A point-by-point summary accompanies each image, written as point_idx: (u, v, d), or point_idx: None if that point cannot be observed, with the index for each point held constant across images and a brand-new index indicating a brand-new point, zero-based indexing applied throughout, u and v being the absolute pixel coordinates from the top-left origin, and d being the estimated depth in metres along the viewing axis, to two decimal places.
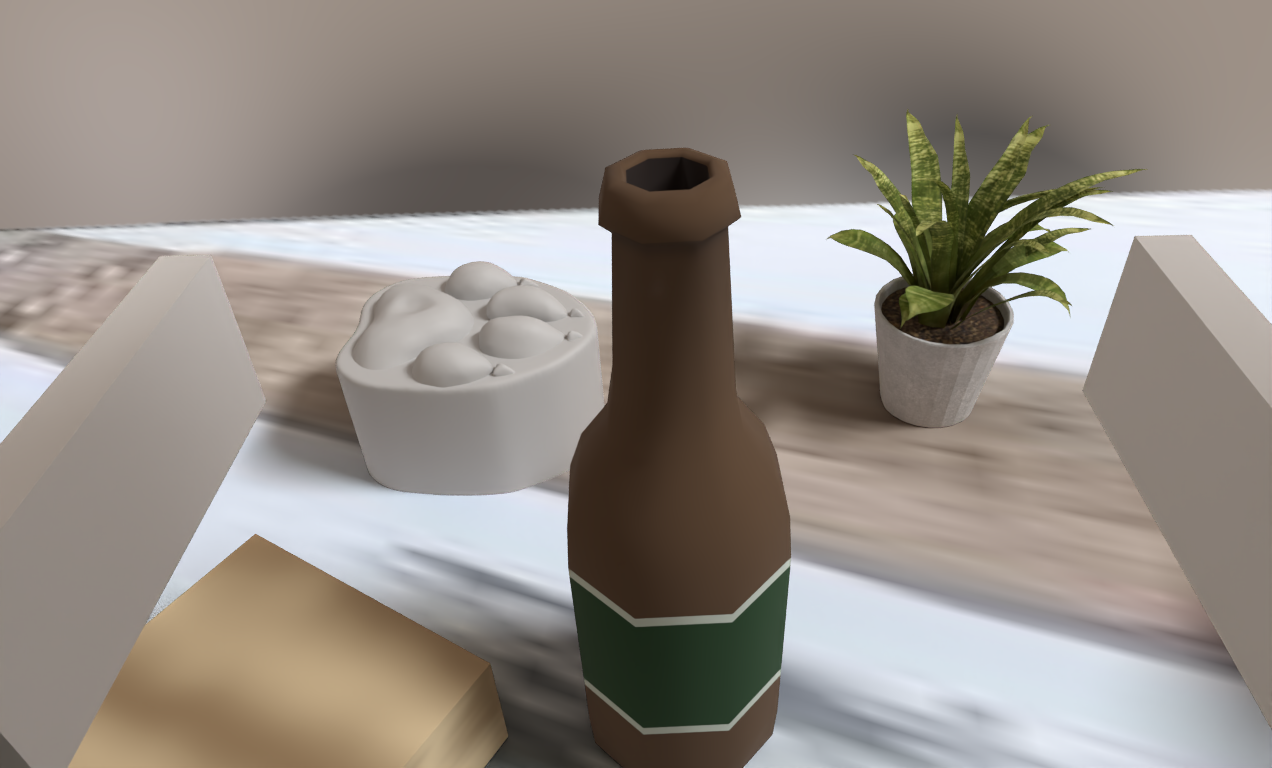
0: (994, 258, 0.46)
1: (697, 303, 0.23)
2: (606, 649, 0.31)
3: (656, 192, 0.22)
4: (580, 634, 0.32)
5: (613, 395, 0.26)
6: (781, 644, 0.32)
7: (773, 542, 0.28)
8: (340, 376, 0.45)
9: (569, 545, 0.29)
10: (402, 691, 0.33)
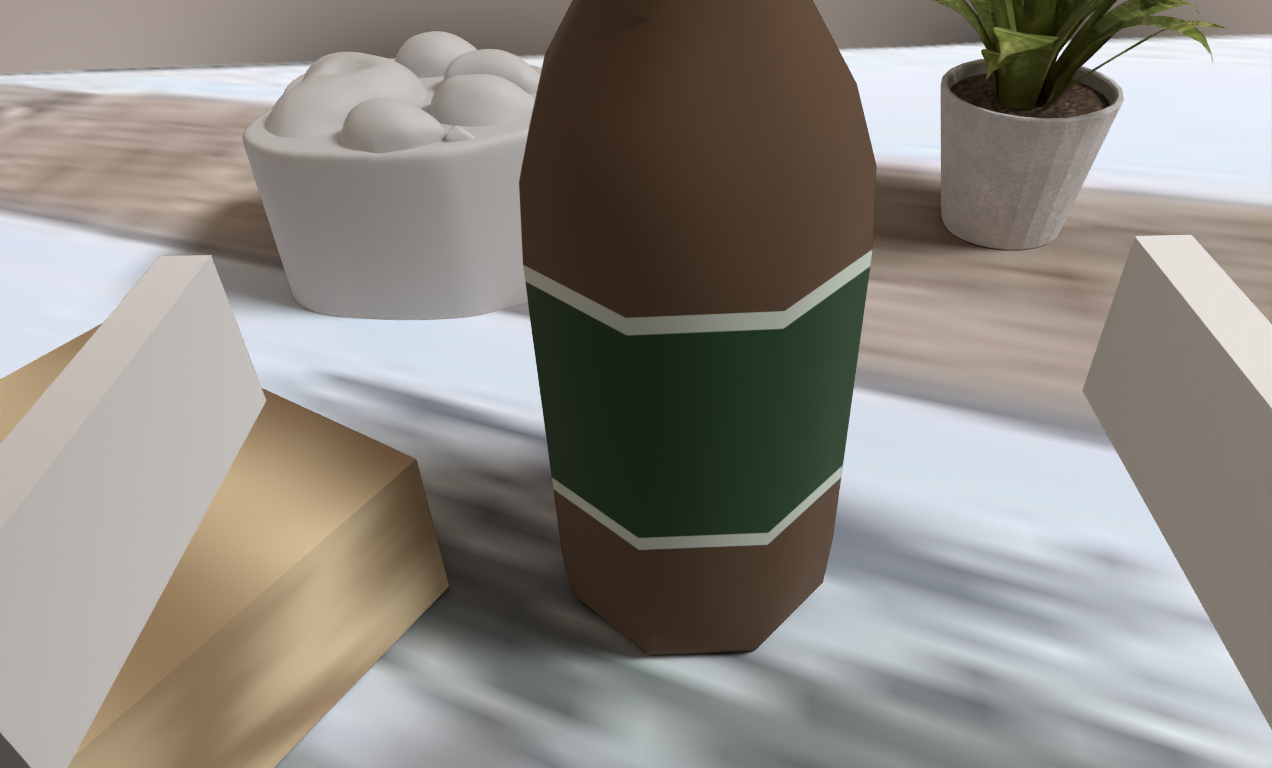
0: (1104, 6, 0.35)
1: None
2: (582, 406, 0.20)
3: None
4: (544, 394, 0.21)
5: None
6: (846, 419, 0.22)
7: (850, 202, 0.17)
8: (247, 147, 0.34)
9: (523, 216, 0.18)
10: (284, 492, 0.22)
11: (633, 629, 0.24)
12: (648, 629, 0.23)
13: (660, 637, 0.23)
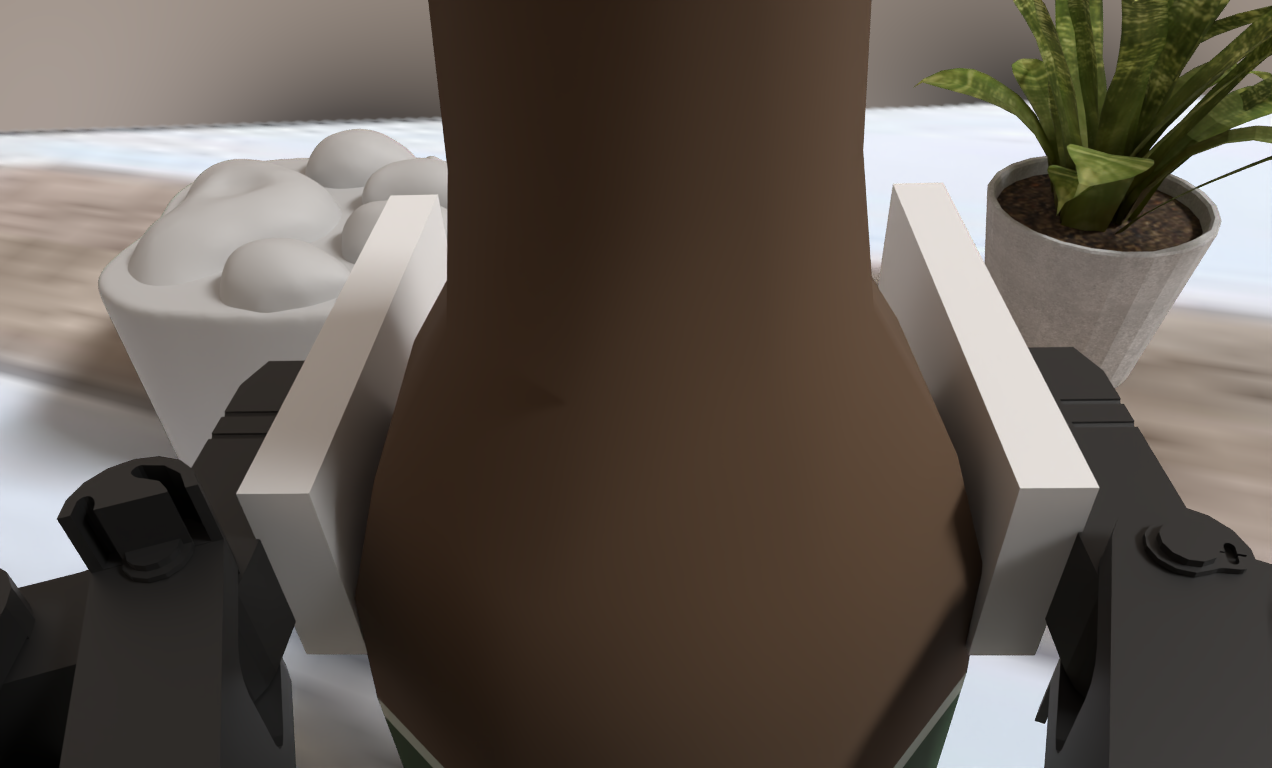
0: (1200, 109, 0.28)
1: None
2: None
3: None
4: None
5: (450, 170, 0.08)
6: None
7: (941, 644, 0.10)
8: (102, 297, 0.27)
9: (368, 642, 0.10)
10: None
11: None
12: None
13: None
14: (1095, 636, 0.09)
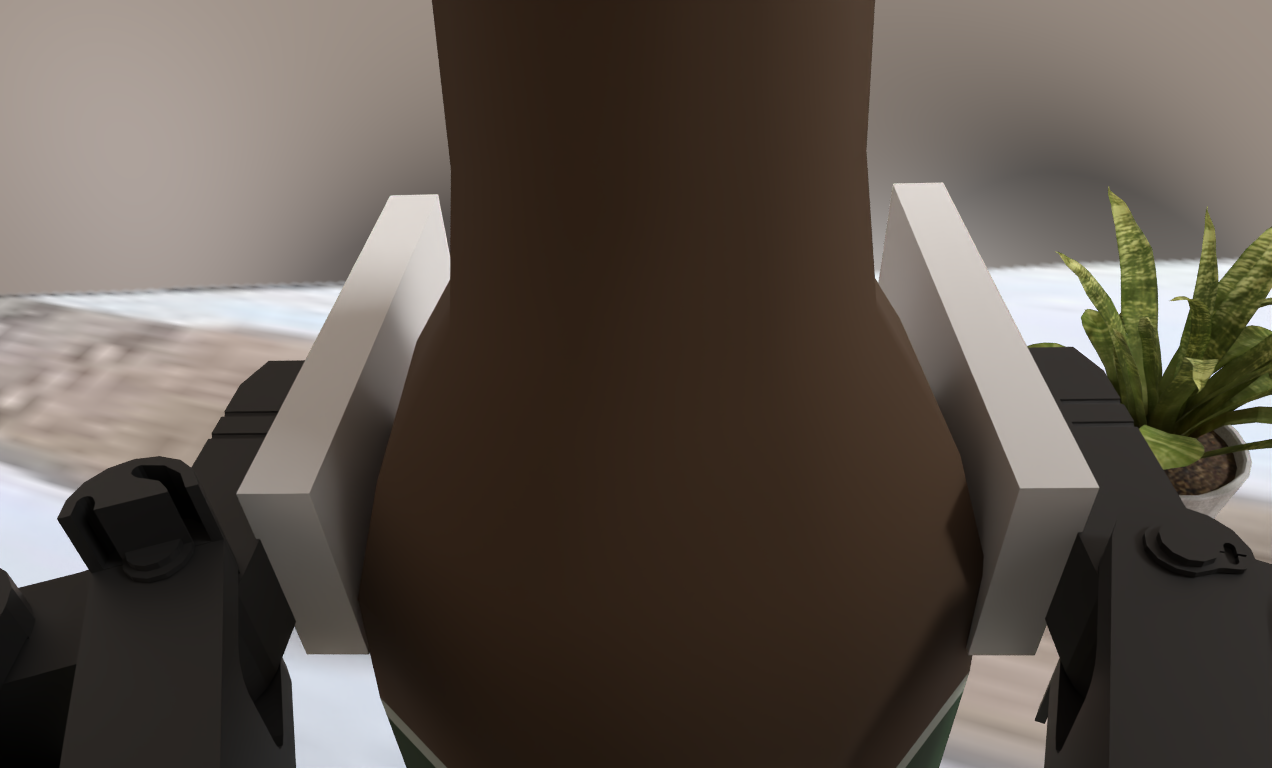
0: None
1: None
2: None
3: None
4: None
5: (453, 170, 0.08)
6: None
7: (943, 645, 0.10)
8: None
9: (370, 642, 0.10)
10: None
11: None
12: None
13: None
14: (1095, 636, 0.09)
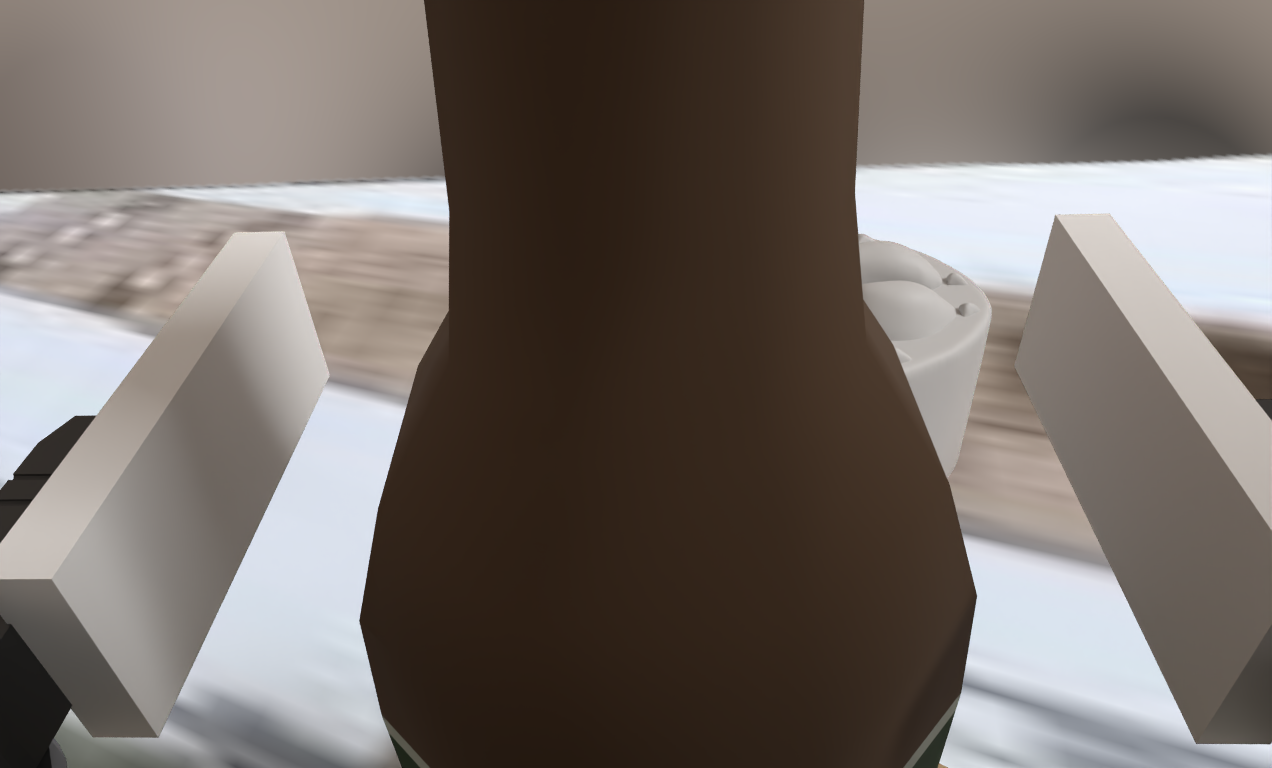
0: None
1: None
2: None
3: None
4: None
5: (451, 211, 0.08)
6: None
7: (933, 668, 0.10)
8: None
9: (372, 663, 0.11)
10: None
11: None
12: None
13: None
14: None
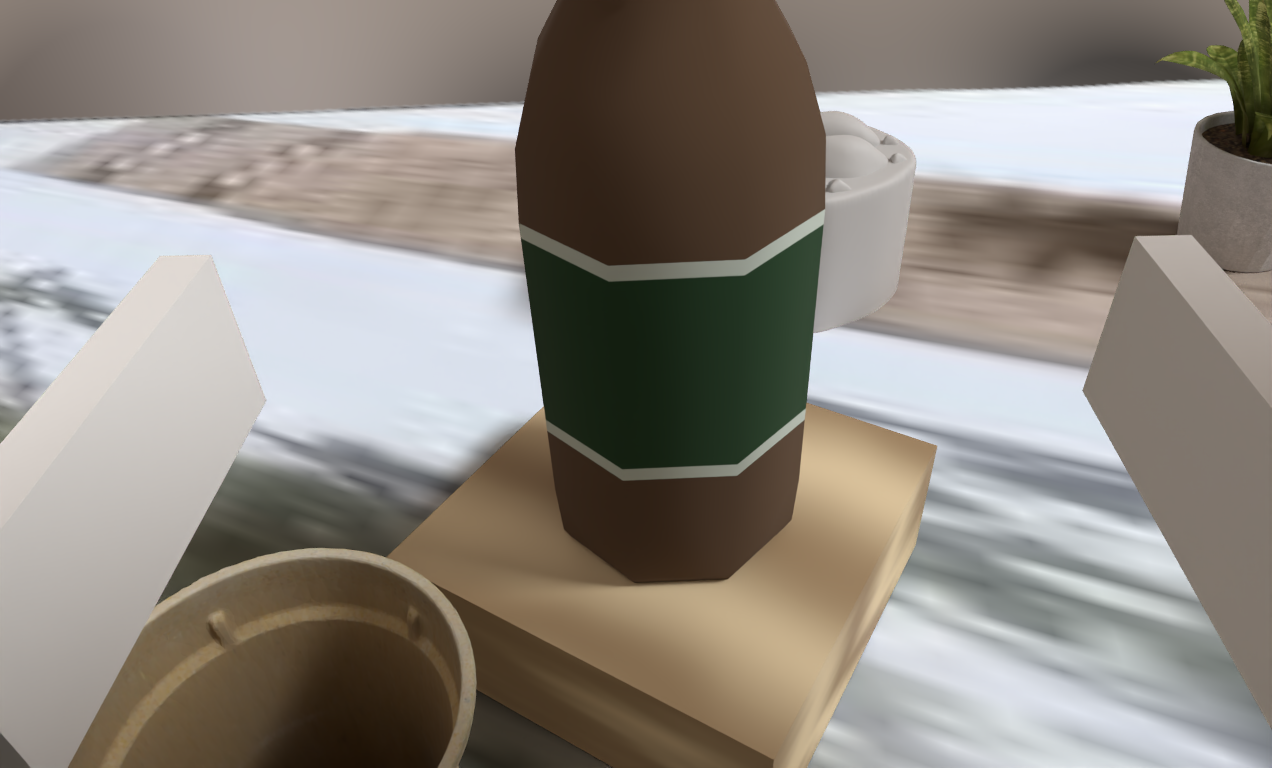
0: None
1: None
2: (571, 350, 0.23)
3: None
4: (538, 341, 0.24)
5: None
6: (807, 365, 0.24)
7: (802, 166, 0.20)
8: None
9: (518, 179, 0.21)
10: (852, 471, 0.30)
11: (619, 559, 0.26)
12: (632, 556, 0.26)
13: (643, 565, 0.26)
14: None
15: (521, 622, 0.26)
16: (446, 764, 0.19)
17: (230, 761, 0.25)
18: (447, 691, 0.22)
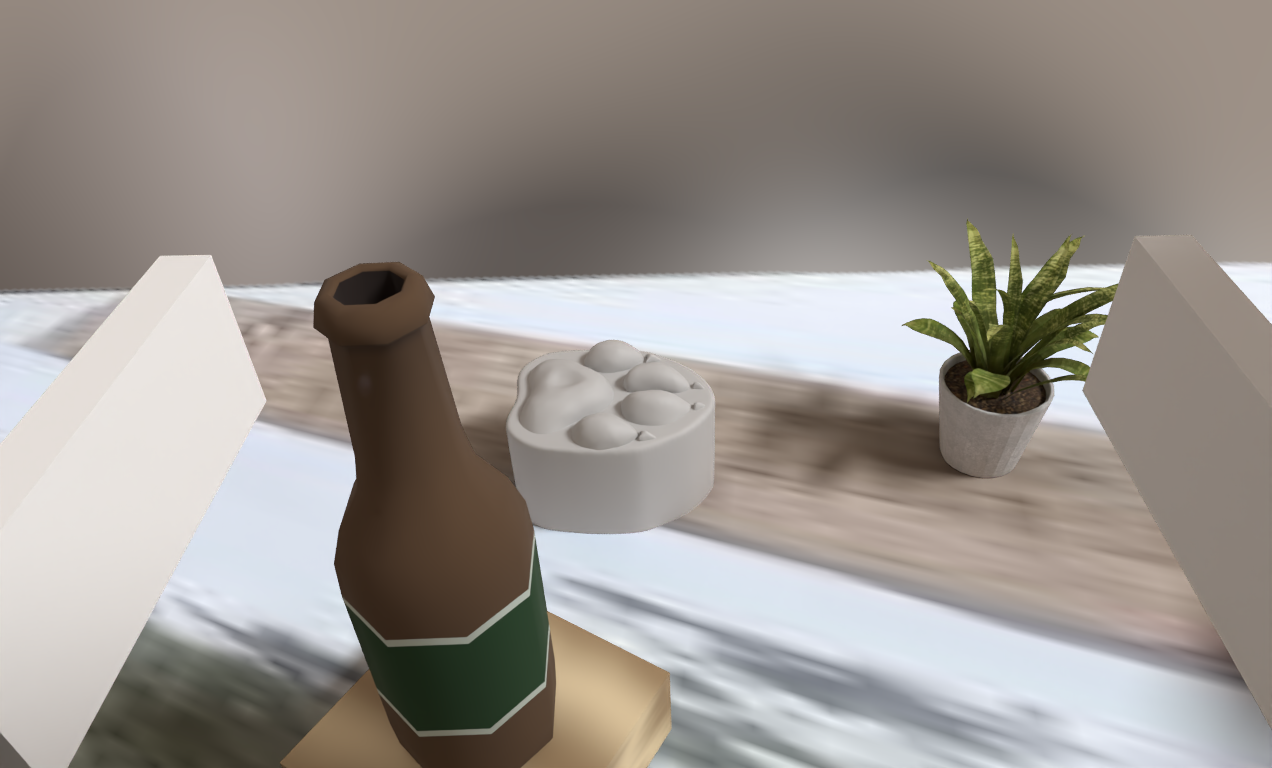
0: (1040, 344, 0.57)
1: (398, 390, 0.29)
2: (379, 665, 0.36)
3: (349, 306, 0.27)
4: (363, 651, 0.37)
5: (355, 457, 0.32)
6: (539, 661, 0.38)
7: (503, 577, 0.34)
8: (512, 439, 0.56)
9: (338, 577, 0.34)
10: (606, 694, 0.44)
11: None
12: None
13: None
14: None
15: None
16: None
17: None
18: None
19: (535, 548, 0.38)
